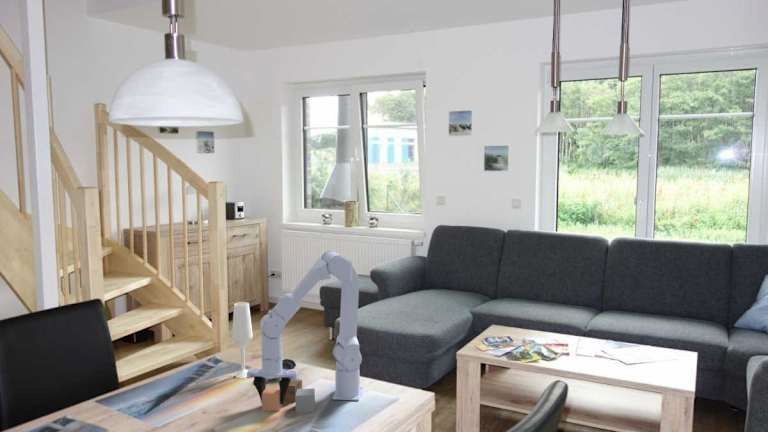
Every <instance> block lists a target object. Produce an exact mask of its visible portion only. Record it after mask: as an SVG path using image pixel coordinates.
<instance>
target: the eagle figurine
mask: <svg viewBox="0 0 768 432" xmlns="http://www.w3.org/2000/svg"><path fill="white" fill-rule="evenodd" d="M296 366H297V364H296V362H295V361H294V360H293V359H289V358H284V359H282V369H286V370H291V371H292V370H294V369H295V368H296ZM267 381H269V382H271V381H272V379H267Z"/></svg>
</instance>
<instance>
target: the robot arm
mask: <svg viewBox="0 0 768 432" xmlns="http://www.w3.org/2000/svg"><path fill="white" fill-rule="evenodd" d="M353 265H354V264H353V262H352V261H351V260H350V259H348V258H347V257H346V256H344V255H342V254H339V253H338V252H336V251H335V250H327V251H325V252H324V253H323V254H322V255H321V256H320V258H318V259H316V260H315V262H314V264H313V265H312V266H311V268H310V270H308V272H307V273H306V274H305V276H304V277H303V278H302V280H301V281H300V282H299V283H298V285H297V286H296V288H294V290H293V291H292V292H290V293H285V294H284V295H283V296H282V295H281V296H280V297H279V298H278V300H279V301H278V302H277V303H276V304H275V306H274V307H272V309H269V310H268V311H267V314H265V315H264V316H263V317H261V319H260V323H258V326H259V330H261V331H262V332H261V368H255V369H254V368H253V369H251V368H250V369H247V370H248V371H247V378H246V379H252V378H254V379H253V381H252V384H253V386H254V387H255V389H256V391H257V393H258V395H259V399H260V403H261V404H262V392H263V391H264V390H265V389H266V387H267V385H266V384H267V383H266V382H267V380H268V379H271V380H272V379H279V380H280V381H278V387H280V404H283V403H284V404H285V402H286V401H285V395H286V392H287V388H288V386H289V383H290V381H291V379H293V380H297V379H299V371H298V370H292V369H291V370H286V369H282V360H283V340H282V334H283V333H284V331H285V326H286V324H288V322H289V321H290V320H291V319H292V318H293V317H294V315H295V314H296V313H297V312H298V311H299V310H300V308H301V307H302V306H301V305H302V304H301V303H302V300H303V299H304V298H305V297H306V296H307V294H309V292H310V291H311V290H313V288H314V287H315V286H316V285H317V284H318V283H319V282H320V281H324V280H330V279H332V276H333V277H335V278H336V279H337V280H338V281H339V282H340V283H341V294H340V311H339V312H340V314H339V316H340V317H339V331H338V332H339V333H338V335H337V337H336V341H335V345H334V347H333V349H332V355H333V357H334V359H336V363H335V366H334V367H335V370H334V371H335V379H334V380H335V391H334V393H333V395H332V397H331V398H332V400H336V401H360V397H361V395H362V392H363V390H364V387H363V386H360V385H361V384H360V383H361V381H360V378H361V376H360V374H361V373H360V371H361V370H360V365H361V363H362V360H363V356H362V354H361V351H360V343H359V340H358V338H357V336H358V334H357V332H358V318H359V317H358V313H359V298H360V297H359V296H360V295H359V294H360V293H359V292H360V277H359V274H358V273H357V271H356V269H355V267H354V266H353ZM331 275H332V276H331Z"/></svg>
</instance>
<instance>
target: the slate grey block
mask: <svg viewBox="0 0 768 432" xmlns="http://www.w3.org/2000/svg"><path fill="white" fill-rule="evenodd" d="M315 393H316V389H315V388H302V389H297V392H296V395H295V402H294V403H295V413H314V412H315V411H314V410H315V406H316V403H315V402H316V398H315V397H316V396H315V395H316V394H315Z"/></svg>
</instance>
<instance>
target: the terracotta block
mask: <svg viewBox="0 0 768 432" xmlns="http://www.w3.org/2000/svg"><path fill="white" fill-rule="evenodd" d="M284 404H285V402H284V403H283V404H280V387H279V386H266V388H265V390H264V391H263V392H262V403H261V411H264V412H265V411H267V412H271V411H272V412H280V411H281V410H282V407H283V406H284Z"/></svg>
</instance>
